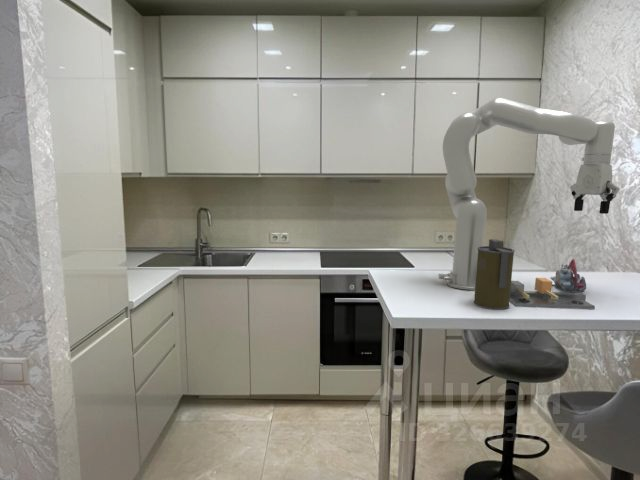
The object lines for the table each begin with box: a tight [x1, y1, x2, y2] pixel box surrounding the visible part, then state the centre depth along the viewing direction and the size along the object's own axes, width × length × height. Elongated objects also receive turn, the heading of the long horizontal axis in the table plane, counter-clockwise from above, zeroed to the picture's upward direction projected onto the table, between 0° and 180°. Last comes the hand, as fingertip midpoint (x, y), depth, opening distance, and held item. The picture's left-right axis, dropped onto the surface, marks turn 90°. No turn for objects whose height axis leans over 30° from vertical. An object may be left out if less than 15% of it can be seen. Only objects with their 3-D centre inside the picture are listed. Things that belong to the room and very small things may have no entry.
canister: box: [473, 238, 515, 311], centre depth 129 cm, size 11×10×20 cm
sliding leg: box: [534, 277, 559, 301], centre depth 134 cm, size 3×12×5 cm, turn 176°
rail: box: [510, 290, 587, 301], centre depth 138 cm, size 24×2×2 cm, turn 86°
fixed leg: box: [510, 280, 530, 300], centre depth 135 cm, size 3×12×4 cm, turn 176°
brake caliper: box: [550, 258, 587, 293], centre depth 150 cm, size 11×11×12 cm
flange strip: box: [509, 298, 596, 310], centre depth 132 cm, size 23×6×1 cm, turn 86°
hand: (590, 212), depth 143 cm, fingers open, 9 cm apart
